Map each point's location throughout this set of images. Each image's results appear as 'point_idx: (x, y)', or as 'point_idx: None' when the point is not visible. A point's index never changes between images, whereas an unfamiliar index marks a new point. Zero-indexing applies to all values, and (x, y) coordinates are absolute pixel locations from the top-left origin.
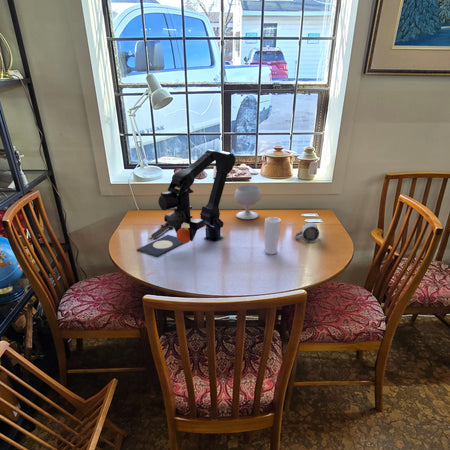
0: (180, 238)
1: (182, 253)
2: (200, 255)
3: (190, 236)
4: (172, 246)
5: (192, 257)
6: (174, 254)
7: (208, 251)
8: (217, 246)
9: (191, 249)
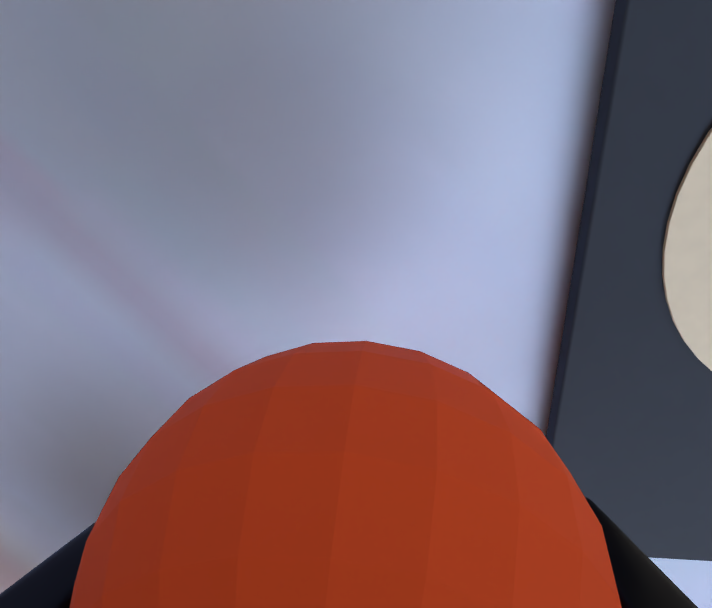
0: (277, 377)
1: (277, 174)
2: (5, 291)
3: (57, 582)
4: (629, 266)
5: (15, 155)
6: (373, 27)
7: (53, 442)
8: None
9: None
